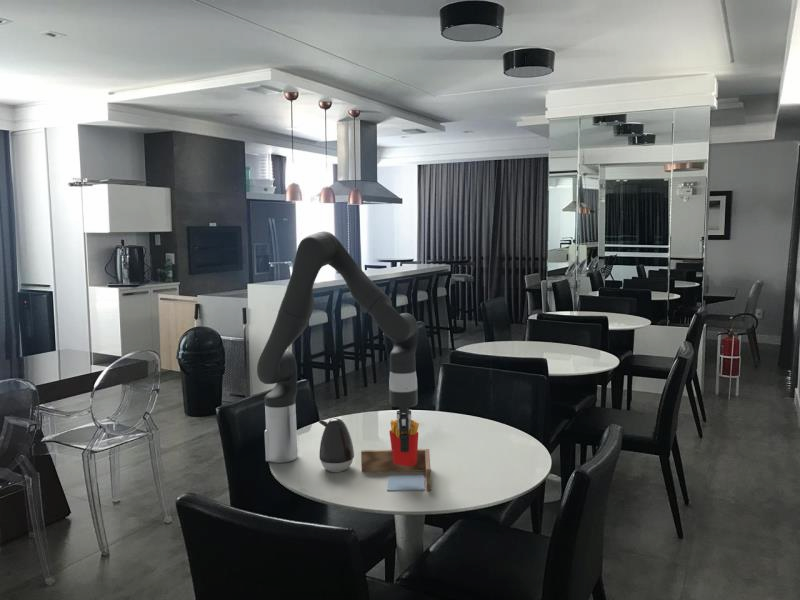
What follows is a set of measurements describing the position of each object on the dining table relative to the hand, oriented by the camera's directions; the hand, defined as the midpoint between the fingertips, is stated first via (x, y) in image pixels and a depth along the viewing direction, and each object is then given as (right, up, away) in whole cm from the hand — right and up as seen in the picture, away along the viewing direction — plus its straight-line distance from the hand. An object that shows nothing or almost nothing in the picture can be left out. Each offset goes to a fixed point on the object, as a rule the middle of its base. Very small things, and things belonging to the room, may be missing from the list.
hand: (404, 448), depth 180 cm
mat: (0, -10, +1) cm, 10 cm away
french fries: (0, -4, +1) cm, 4 cm away
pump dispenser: (-20, -9, +14) cm, 26 cm away
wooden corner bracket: (-3, -10, +4) cm, 11 cm away
